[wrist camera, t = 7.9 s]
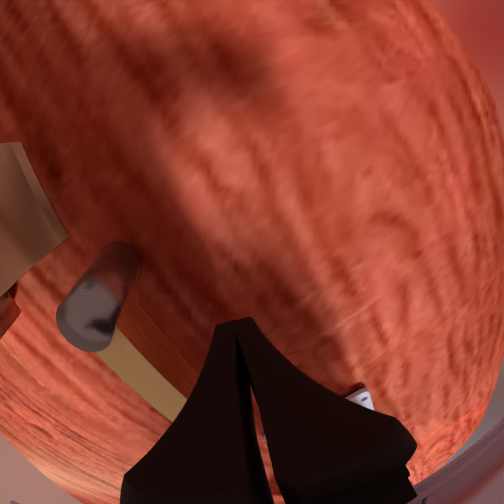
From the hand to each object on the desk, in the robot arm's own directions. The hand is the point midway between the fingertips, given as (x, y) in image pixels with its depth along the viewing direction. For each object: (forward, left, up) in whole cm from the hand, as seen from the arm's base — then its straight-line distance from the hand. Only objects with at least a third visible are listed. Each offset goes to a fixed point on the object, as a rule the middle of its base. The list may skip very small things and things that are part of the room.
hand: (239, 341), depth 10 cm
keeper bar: (0, +3, -2) cm, 4 cm away
